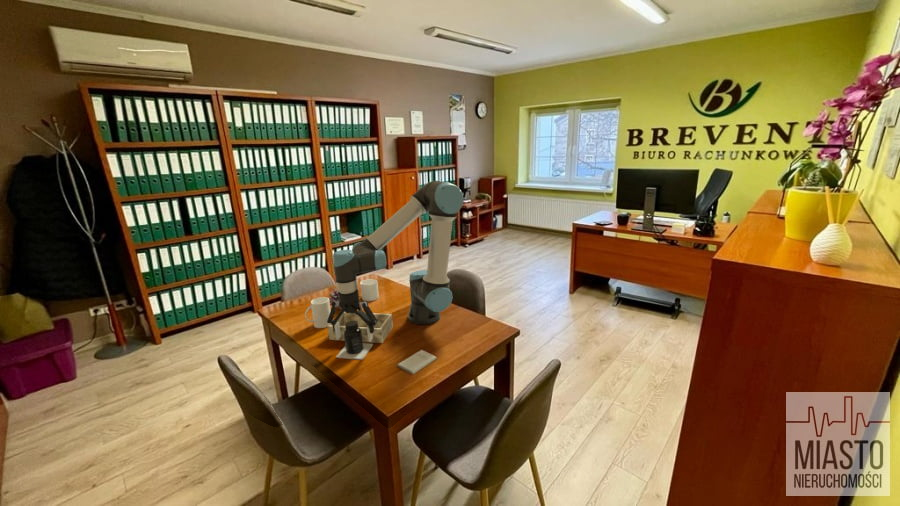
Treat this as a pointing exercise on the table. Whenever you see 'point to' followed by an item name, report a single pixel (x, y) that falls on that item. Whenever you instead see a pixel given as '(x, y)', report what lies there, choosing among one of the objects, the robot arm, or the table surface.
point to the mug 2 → (369, 289)
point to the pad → (359, 355)
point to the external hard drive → (417, 361)
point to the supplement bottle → (353, 338)
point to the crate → (378, 334)
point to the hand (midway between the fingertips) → (354, 339)
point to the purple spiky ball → (334, 296)
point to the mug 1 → (320, 312)
